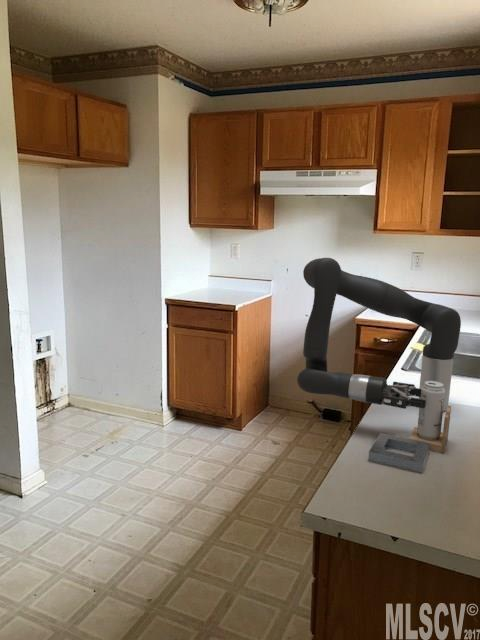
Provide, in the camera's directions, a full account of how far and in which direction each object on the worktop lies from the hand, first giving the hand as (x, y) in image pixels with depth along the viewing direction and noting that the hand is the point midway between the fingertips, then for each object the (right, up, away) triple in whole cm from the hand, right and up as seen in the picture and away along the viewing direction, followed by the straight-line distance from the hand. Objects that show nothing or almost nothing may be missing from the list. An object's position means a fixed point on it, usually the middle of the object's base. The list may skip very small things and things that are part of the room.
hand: (427, 399), depth 141 cm
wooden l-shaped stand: (+1, -12, +2) cm, 12 cm away
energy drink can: (+1, -10, +2) cm, 11 cm away
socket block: (-9, -14, -6) cm, 18 cm away
